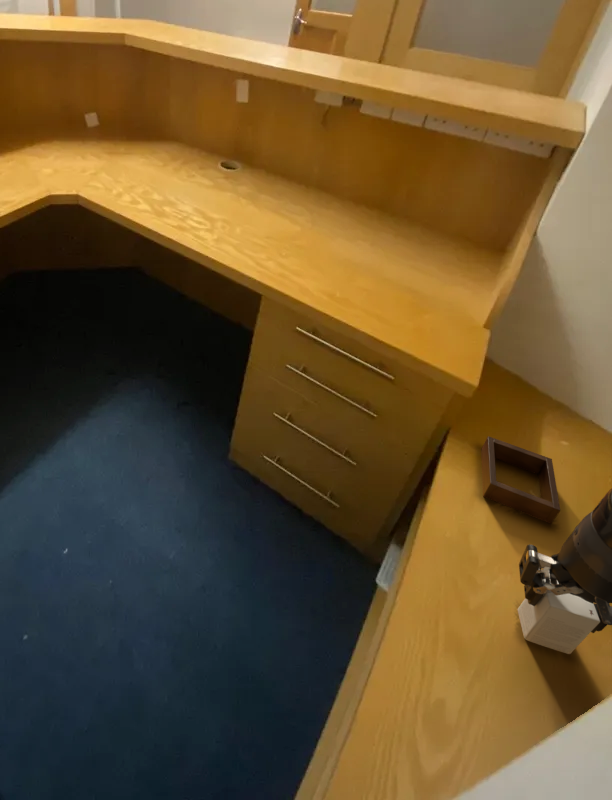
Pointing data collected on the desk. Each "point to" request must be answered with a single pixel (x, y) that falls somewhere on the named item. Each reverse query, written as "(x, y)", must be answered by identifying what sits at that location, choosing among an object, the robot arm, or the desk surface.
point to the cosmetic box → (558, 621)
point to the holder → (513, 497)
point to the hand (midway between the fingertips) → (558, 611)
